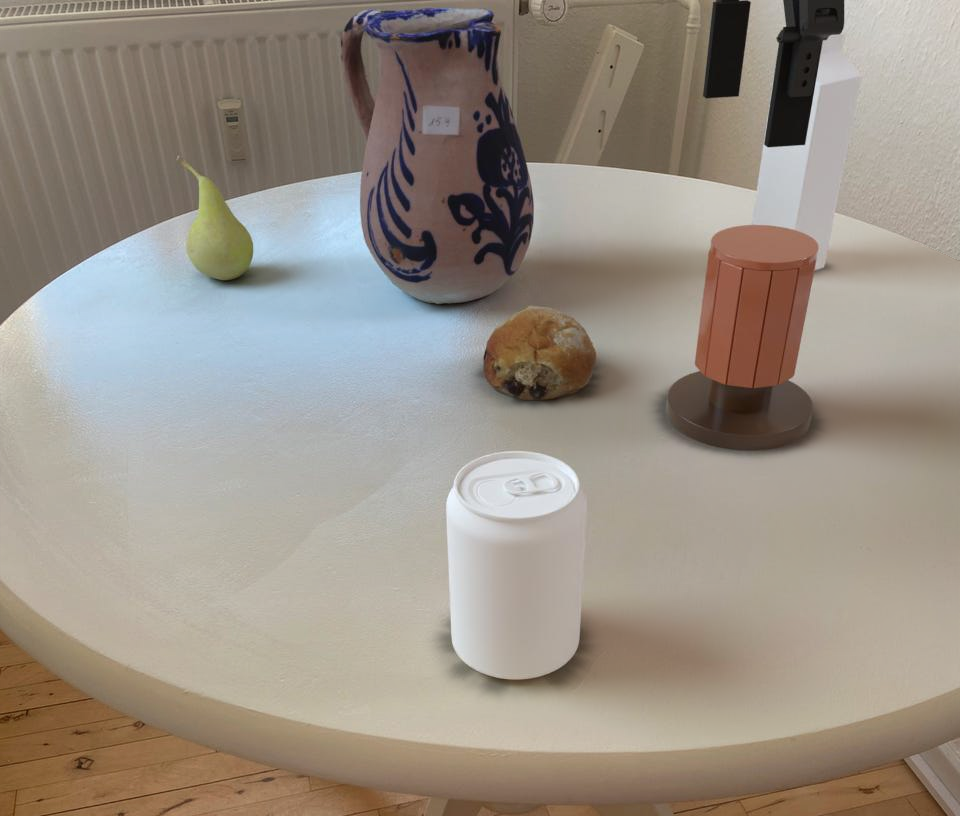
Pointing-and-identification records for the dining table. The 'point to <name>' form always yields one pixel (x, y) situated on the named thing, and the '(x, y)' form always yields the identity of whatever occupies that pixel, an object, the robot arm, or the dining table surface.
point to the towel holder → (738, 413)
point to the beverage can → (516, 563)
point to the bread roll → (539, 355)
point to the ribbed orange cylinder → (755, 304)
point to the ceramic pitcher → (439, 153)
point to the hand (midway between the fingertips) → (750, 119)
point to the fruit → (217, 235)
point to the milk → (812, 156)
